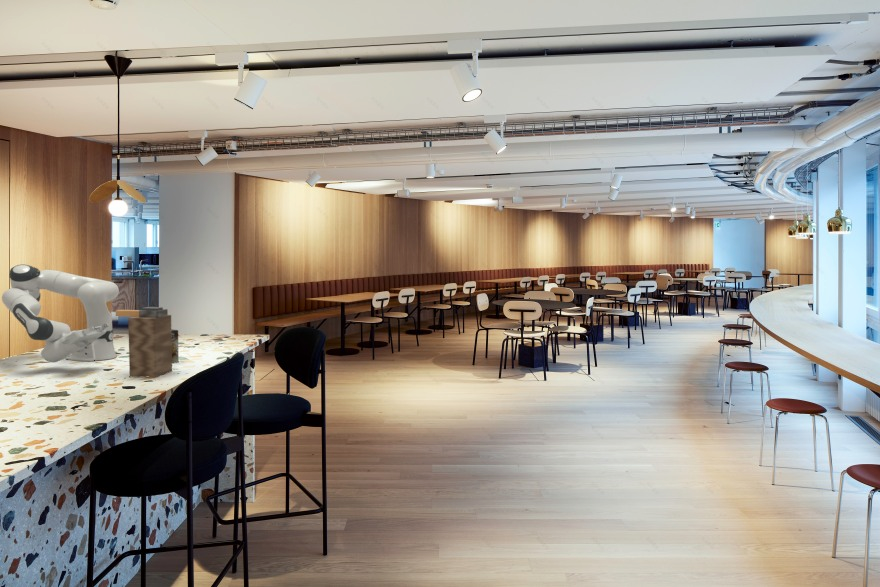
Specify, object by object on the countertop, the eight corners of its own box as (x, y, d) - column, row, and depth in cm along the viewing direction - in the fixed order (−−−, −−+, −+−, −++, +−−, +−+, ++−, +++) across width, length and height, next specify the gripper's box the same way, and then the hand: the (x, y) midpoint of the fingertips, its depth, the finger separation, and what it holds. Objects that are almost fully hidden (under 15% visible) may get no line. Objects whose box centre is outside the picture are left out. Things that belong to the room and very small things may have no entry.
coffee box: (161, 364, 291) (160, 331, 290) (154, 363, 295) (154, 330, 293) (179, 362, 298) (178, 330, 297) (172, 360, 302) (171, 328, 301)
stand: (129, 376, 265) (128, 311, 262) (147, 370, 278) (145, 307, 276) (155, 377, 264) (154, 311, 262) (172, 370, 278) (171, 308, 275)
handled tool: (114, 316, 268) (114, 307, 267) (121, 315, 273) (121, 306, 272) (157, 317, 266) (156, 308, 266) (162, 316, 271) (162, 307, 271)
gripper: (56, 338, 262) (82, 323, 260) (86, 331, 282) (110, 317, 281) (63, 350, 262) (89, 335, 261) (93, 343, 282) (117, 329, 281)
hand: (100, 326), depth 271 cm, fingers open, 8 cm apart
